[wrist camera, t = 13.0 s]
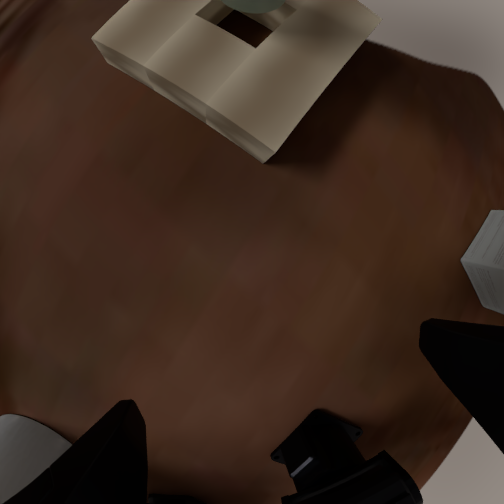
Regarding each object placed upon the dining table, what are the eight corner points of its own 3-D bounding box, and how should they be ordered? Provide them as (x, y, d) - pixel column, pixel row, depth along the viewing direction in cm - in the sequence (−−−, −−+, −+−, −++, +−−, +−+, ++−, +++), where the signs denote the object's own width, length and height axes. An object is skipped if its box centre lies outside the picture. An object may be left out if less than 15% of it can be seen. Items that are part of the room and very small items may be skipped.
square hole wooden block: (360, 41, 20) (382, 19, 16) (263, 163, 20) (275, 152, 16) (224, -39, 17) (228, -68, 13) (108, 63, 17) (91, 38, 13)
